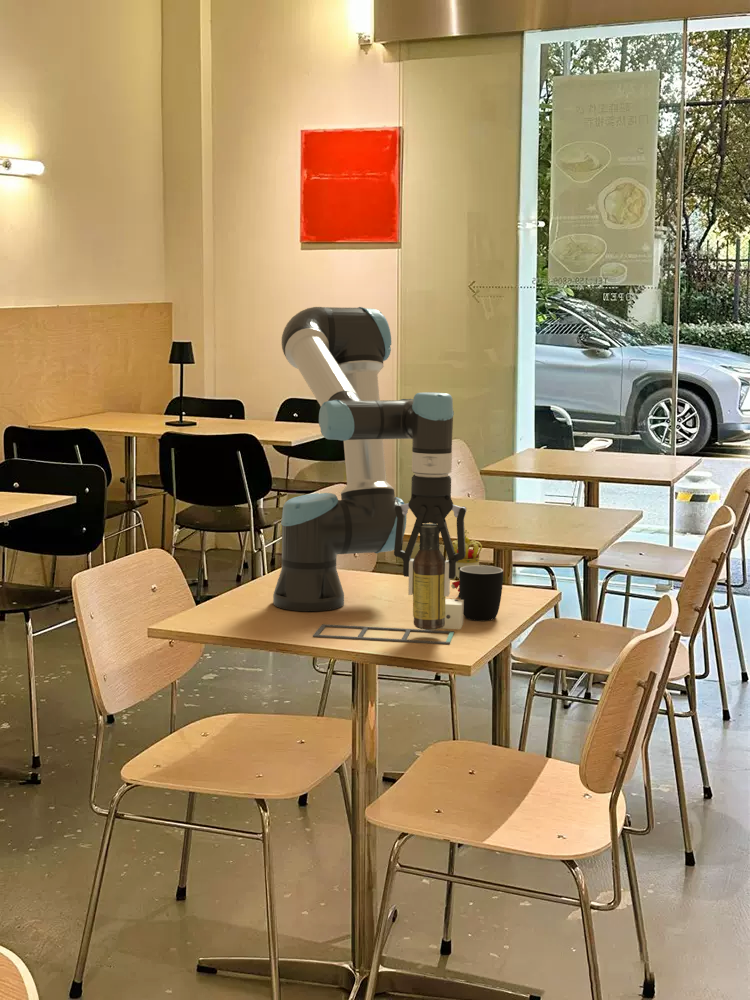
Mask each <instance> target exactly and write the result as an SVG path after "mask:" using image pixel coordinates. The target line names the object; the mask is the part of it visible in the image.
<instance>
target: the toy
mask: <svg viewBox="0 0 750 1000" xmlns="http://www.w3.org/2000/svg"><path fill="white" fill-rule="evenodd" d="M464 530H465V550H466V555H465V557H464V559H462V560H458V561H456V575H455V577H457V578H458V579H459V571H460V568H461V567H464V566H472V565H480V553H481V551H482V550H483V549H482V548H483V545H482V544H481V542H479V541H477V540H475V539H472V540H470V538H469V537H467V534H470V533H469V531H468V532H467V529H464ZM452 544H453V548H454V551H455V554H456V553H458V541H457V539H456V540H455V539H454V540H453V541H452ZM471 545H473V547H472V548H469V546H471ZM479 546H480V547H479ZM450 588H452V589H456V590H457V592H459V593H458V595H457V598H460V590H459V580H457V581H453V582H452V583H451V587H450Z"/></svg>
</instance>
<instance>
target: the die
mask: <svg viewBox="0 0 750 1000" xmlns="http://www.w3.org/2000/svg"><path fill="white" fill-rule="evenodd" d="M463 610H464V600H461V599H457V598H456V599H455V598H453V599H451V598H445V625H444V627H442V628H441V629H445V630H448V629H449V630H461V629H462V627H463V625H464V614H463Z"/></svg>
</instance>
